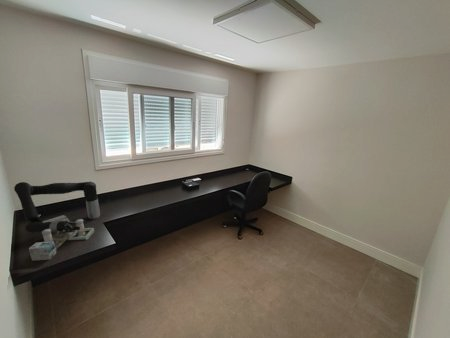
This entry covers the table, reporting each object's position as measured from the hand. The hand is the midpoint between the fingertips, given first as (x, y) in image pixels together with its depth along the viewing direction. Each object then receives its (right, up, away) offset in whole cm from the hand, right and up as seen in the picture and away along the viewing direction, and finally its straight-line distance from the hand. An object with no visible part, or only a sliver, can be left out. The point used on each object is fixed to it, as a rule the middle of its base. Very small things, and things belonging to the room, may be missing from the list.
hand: (82, 225), depth 151 cm
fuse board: (-15, -12, -6) cm, 20 cm away
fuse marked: (-2, -9, +2) cm, 9 cm away
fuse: (-14, -12, -12) cm, 22 cm away
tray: (-2, -10, +3) cm, 10 cm away
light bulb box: (-10, -16, -21) cm, 28 cm away
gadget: (-35, -5, +18) cm, 40 cm away
